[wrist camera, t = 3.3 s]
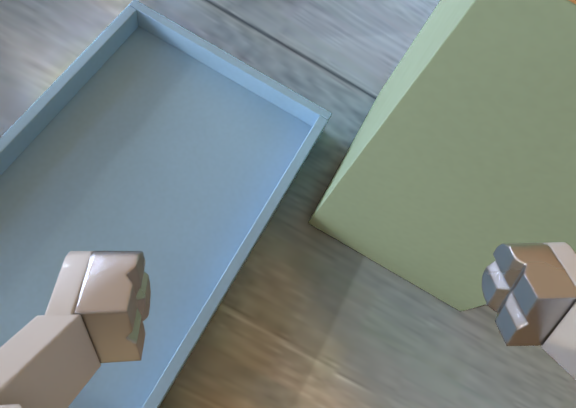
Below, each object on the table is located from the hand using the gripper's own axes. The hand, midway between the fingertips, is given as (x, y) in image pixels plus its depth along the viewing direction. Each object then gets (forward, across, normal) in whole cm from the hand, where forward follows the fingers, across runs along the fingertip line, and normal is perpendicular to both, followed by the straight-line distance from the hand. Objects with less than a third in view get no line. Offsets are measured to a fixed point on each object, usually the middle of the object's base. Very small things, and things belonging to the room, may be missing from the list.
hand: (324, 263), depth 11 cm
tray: (+18, +11, +17) cm, 27 cm away
